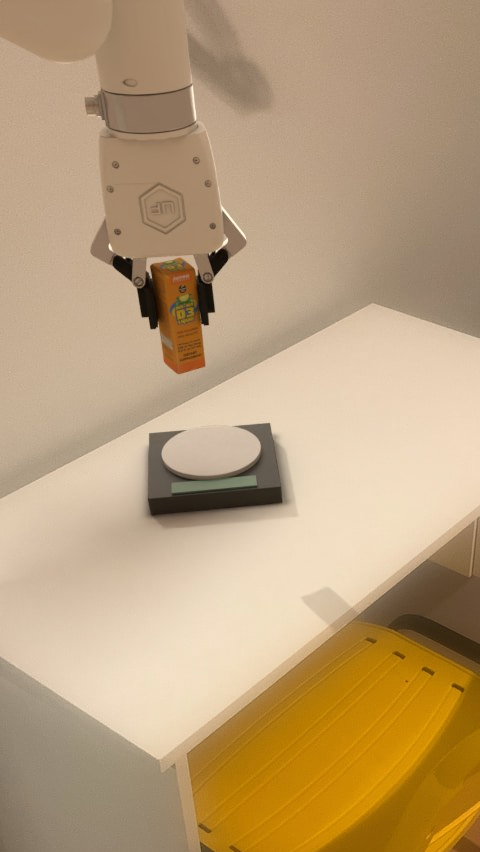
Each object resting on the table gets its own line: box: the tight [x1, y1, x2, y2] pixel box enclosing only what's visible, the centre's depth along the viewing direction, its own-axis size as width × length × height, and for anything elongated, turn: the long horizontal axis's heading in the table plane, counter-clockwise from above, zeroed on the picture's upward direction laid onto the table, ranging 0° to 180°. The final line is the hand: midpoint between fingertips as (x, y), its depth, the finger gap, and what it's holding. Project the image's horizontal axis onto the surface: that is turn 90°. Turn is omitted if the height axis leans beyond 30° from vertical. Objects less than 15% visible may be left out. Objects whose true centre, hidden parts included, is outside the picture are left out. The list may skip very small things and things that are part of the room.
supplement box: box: [149, 256, 206, 375], centre depth 92 cm, size 3×3×10 cm
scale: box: [147, 422, 283, 516], centre depth 107 cm, size 14×14×3 cm
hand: (179, 319), depth 92 cm, fingers closed on supplement box, 4 cm apart
